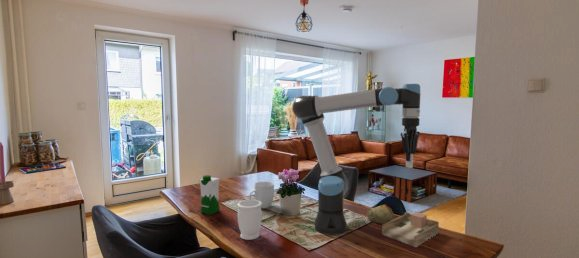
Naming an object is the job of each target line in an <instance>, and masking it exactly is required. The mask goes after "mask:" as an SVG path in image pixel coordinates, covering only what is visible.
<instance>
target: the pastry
mask: <svg viewBox="0 0 579 258" xmlns="http://www.w3.org/2000/svg"><path fill="white" fill-rule="evenodd" d="M366 216H367V219H368V220H369V221H370V222H372V223H374V224H375V223H376V224H381V225H383V224H385V223H387V222H389V221H391V220H394V219H396V216H395V214H394V212H393V210H392V208H391V207H390V206H388V205H387V204H382V205H379V206H375V207H372V208H371V209H368V210H367V212H366Z"/></svg>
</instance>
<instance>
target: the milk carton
mask: <svg viewBox="0 0 579 258" xmlns="http://www.w3.org/2000/svg"><path fill="white" fill-rule="evenodd" d="M220 179H221V178H218V177H212V175H203V176H202V178H201V179H200V180H198V182H199V186H200V213H201V214H205V215H210V216H213V215H214V214H215V213H218V212H219V211H220V203H219V202H220V201H219V200H220V199H219V184H220Z"/></svg>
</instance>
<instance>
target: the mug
mask: <svg viewBox="0 0 579 258" xmlns="http://www.w3.org/2000/svg"><path fill="white" fill-rule="evenodd" d="M253 193H254V198H255V199H254V200H258V201H260V202H261V203H262V205H261V209H268V208H270V207H271V206H272V204H273V202H274V197H275V183H274V182H271V181H257V182H255V183H254V189H253V190H252V189H251V191H250V192H249V193H248V200H252V198H251V197H252V194H253Z"/></svg>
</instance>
